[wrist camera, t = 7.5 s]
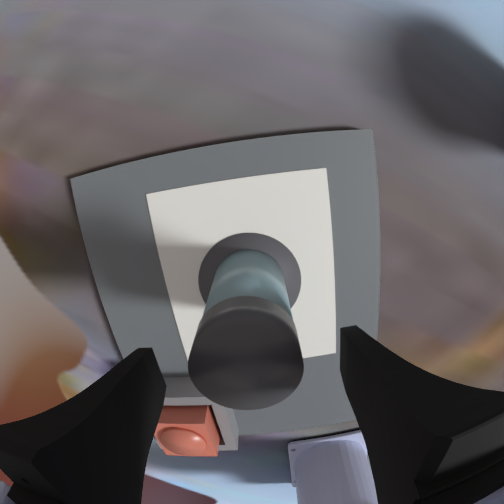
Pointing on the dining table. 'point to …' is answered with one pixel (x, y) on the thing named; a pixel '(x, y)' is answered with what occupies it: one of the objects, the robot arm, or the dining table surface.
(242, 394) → the salt shaker
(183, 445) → the button
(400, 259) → the dining table surface
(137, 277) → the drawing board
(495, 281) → the dining table surface
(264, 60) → the dining table surface
